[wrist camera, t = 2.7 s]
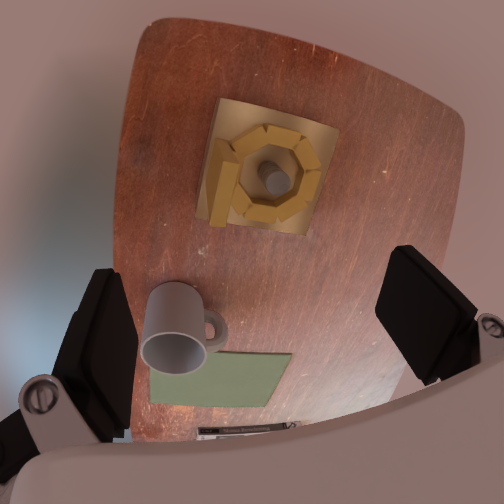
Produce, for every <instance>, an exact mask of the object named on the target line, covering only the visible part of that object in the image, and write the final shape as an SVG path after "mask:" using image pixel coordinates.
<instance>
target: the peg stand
mask: <svg viewBox="0 0 504 504" xmlns="http://www.w3.org/2000/svg"><path fill="white" fill-rule="evenodd" d="M264 123H269V124H273V125H277V126H281V127H284V128H288V129H292V130H296V131H298V132H300V133H302V135H303V136H305V137H307V138H308V140H309V142H310V144H311V146H312V148H313V150H314V151H315V153H316V155H317V157H318V159H319V161H320V163H321V166H320V167H318V168H317V169H319V170H320V171H321V172H322V173H321V176H320V179H319V182H318V185H317V188H316V191H315V194H314V197H313V200H312V201H307V200H305V201H306V203H307V204H308V207H306V208H305V209H303V210H301V211H300V212H298V213H297V214H295V215H293V216H292V217H290V218H288V219H287V220H285V221H283V222H282V223H281V222H280V221H279V219H278V217H277V220H276V223H275V224H271V223H265V222H259V221H253V220H247V219H244V217H243V215H242V214H241V215H240V216H238V214H237V213H236V212H235V210H234V209H233V207H232V206H230V210H229V214H228V219H227V223H229V224H236V225H242V226H248V227H255V228H261V229H267V230H274V231H280V232H286V233H292V234H298V235H304V236H306V234H307V231H308V228H309V225H310V222H311V219H312V216H313V214H314V211H315V208H316V205H317V202H318V199H319V196H320V193H321V190H322V187H323V184H324V180H325V177H326V174H327V171H328V168H329V165H330V162H331V159H332V155H333V152H334V149H335V146H336V142H337V139H338V136H339V133H340V129H337V128H334V127H331V126H328V125H325V124H322V123H319V122H316V121H312V120H309V119H306V118H302V117H299V116H296V115H292V114H289V113H285V112H281V111H278V110H274V109H270V108H266V107H262V106H258V105H254V104H249V103H245V102H241V101H236V100H231V99H226V98H221V97H217V100H216V104H215V109H214V113H213V117H212V121H211V126H210V130H209V134H208V139H207V143H206V148H205V153H204V157H203V162H202V167H201V172H200V177H199V182H198V187H197V192H196V198H195V219H202V220H209V218H208V207H207V196H206V184H205V181H206V176H207V172H208V167H209V162H210V158H211V153H212V148H213V144H214V140H215V138H217V139H222V140H226V141H227V143H228V144H229V146H230V148H233V147H232V146H231V144H230V142H229V141H230V140H232V139H233V138H235V137H237V136H238V135H240V134H242V133H243V132H245V131H247V130H248V129H250V128H252V127H253V126H255V125H257V124H260V125H262V126H263V127H264ZM298 169H299V166H298V164H297V162H296V161H295V159H294V157H293V155H292V154H291V152H290V150H289V149H287V148H283V147H279V146H275V145H270V144H267V145H265V146H264V147H262V148H260V149H259V150H257V151H255V152H254V153H252V154H250V155H249V156H247V157H246V158H245V160H244V164H243V168H242V172H241V176H240V180H239V182H240V183H241V185H242V186H243V188H244V189H245V191H246V192H247V194H248V195H249V197H252V198H257V199H263V200H268V201H274V200H275V199H277V198H279V197H280V196H282V195H283V194H285V193H287V192H288V191H290V190H292V189H293V186H294V182H295V179H296V176H297V172H298Z"/></svg>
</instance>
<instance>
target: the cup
mask: <svg viewBox="0 0 504 504" xmlns="http://www.w3.org/2000/svg"><path fill="white" fill-rule="evenodd" d="M205 322H208V323H211V324H212V325H213V327H214V328H215V336H214V338H212V339H206V335H205ZM228 335H229V334H228V328H227V325H226V323H225V320H224V319H223V318H222V316H221V315H220V314H218V313H217V312H215V311H212V310H209V309H204V307H203V301H202V298H201V296H200V294H199V293H198V292H197V291H196V290H195V289H194V288H193V287H191V286H189V285H187V284H185V283H181V282H168V283H163V284H161V285H159V286H157V287H156V288H155V289H154V290H153V291H152V292H151V293H150V295H149V298H148V302H147V308H146V314H145V320H144V327H143V334H142V341H141V348H140V354H141V358H142V360H143V361H144V363H145V364H146V365H148V366H149V367H150V368H151V369H153V370H155V371H157V372H160V373H163V374H167V375H185V374H189V373H192V372H195V371H196V370H198V369H200V368H201V367H202V366H203V365H204V363H205V362H206V359H207V353H214V352H218V351H219V350H220V349H222V348H223V347H224V346H225V345H226V343H227V341H228Z"/></svg>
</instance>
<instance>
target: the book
mask: <svg viewBox="0 0 504 504" xmlns="http://www.w3.org/2000/svg"><path fill="white" fill-rule="evenodd" d="M300 426H301V422H300V421H296V422H287V423H278V424H268V425H256V426H240V427H207V428H198V433H197V440H210V439H222V438H231V437H240V436H248V435H255V434H261V433H268V432H274V431H279V430H285V429H290V428H295V427H300Z"/></svg>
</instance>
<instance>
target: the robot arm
mask: <svg viewBox="0 0 504 504" xmlns="http://www.w3.org/2000/svg"><path fill="white" fill-rule="evenodd" d="M477 311H478V309H477V308H476V307H475V306H474V305H473V304H472V303H471V302H470V301H469V300H468V299H467V298H466V297H465V296H464V295H463V293H462V292H461V291H459V289H458V288H456V286H454V285H453V284H452V283H451V282H450V281H449V280H448V279H447V278H446V277H445V276H444V275H443V274H442V273H441V272H440V271H439V270H438V269H437V268H436V267H435V266H434V265H433V264H432V263H430V262H429V261H428V260H427V259H426V258H425V257H424V256H423V255H422V254H421V253H420V252H418V251H417V250H416V249H415V248H414V247H413V246H411V245H403V246H397V247H396V248H395V249H394V250H393V251H392V252H391V255H390V259H389V263H388V266H387V270H386V274H385V277H384V281H383V284H382V287H381V291H380V294H379V297H378V300H377V304H376V307H375V313H376V316H377V318H378V319H379V321H380V322H381V323H382V325H383V326H384V328H385V329H386V331H387V332H388V334H389V335H390V337H391V338H392V340H393V341H394V343H395V344H396V346H397V347H398V349H399V350H400V352H401V353H402V355H403V356H404V358H405V359H406V361H407V363H408V364H409V366H410V367H411V369H412V370H413V372H414V373H415V375H416V377H417V378H418V379H420V380H422V382H423V383H424V385H425V386H427V385H429V384H431V383H434V382H436V381H437V379H438V378H440V379H441V382H439V383H437V384H435V385H432V386H430V387H427V388H425V389H422V390H420V391H417V392H415V393H412V394H410V395H407V396H404V397H402V398H399V399H396V400H393V401H391V402H388V403H385V404H382V405H379V406H376V407H372V408H369V409H366V410H363V411H359V412H356V413H353V414H349V415H345V416H342V417H338V418H334V419H330V420H326V421H322V422H318V423H314V424H309V425H305V426H300V427H295V428H290V429H285V430H279V431H274V432H268V433H261V434H255V435H248V436H240V437H231V438H222V439H210V440H197V441H182V442H137V443H113V438H124V429H129V427H130V416H131V404H132V393H133V383H134V374H135V366H136V358H137V350H138V334H137V331H136V328H135V325H134V322H133V318H132V315H131V312H130V308H129V305H128V301H127V298H126V294H125V291H124V287H123V283H122V280H121V276H120V274H119V273H118V272H117V273H115V272H114V270H113V269H112V268H109V269H96V270H95V271H94V273H93V275H92V278H91V280H90V282H89V284H88V287H87V289H86V291H85V293H84V296H83V299H82V301H81V303H80V305H79V308H78V310H77V311H76V312H74V314H73V316H72V318H71V321H70V323H69V326H68V328H67V331H66V334H65V336H64V339H63V342H62V345H61V347H60V350H59V353H58V356H57V359H56V362H55V365H54V368H53V371H52V374H51V375H47V374H42V375H38V376H35V377H32V378H31V379H30V380H28V381H27V382H26V383H25V384H24V386H23V387H22V389H21V391H20V393H19V399H18V402H19V407H20V409H18V410H17V411H15V412H14V413H12V414H11V415H10V416H8V417H7V418H5V419H4V420H2V421H1V422H0V504H504V322H503V321H502V320H501V319H500V318H498V317H497V316H495V315H493V314H489V313H485V314H481V315H480V316H479V318H478V319H477V321H475V319H474V317H475V315H476V313H477Z"/></svg>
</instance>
